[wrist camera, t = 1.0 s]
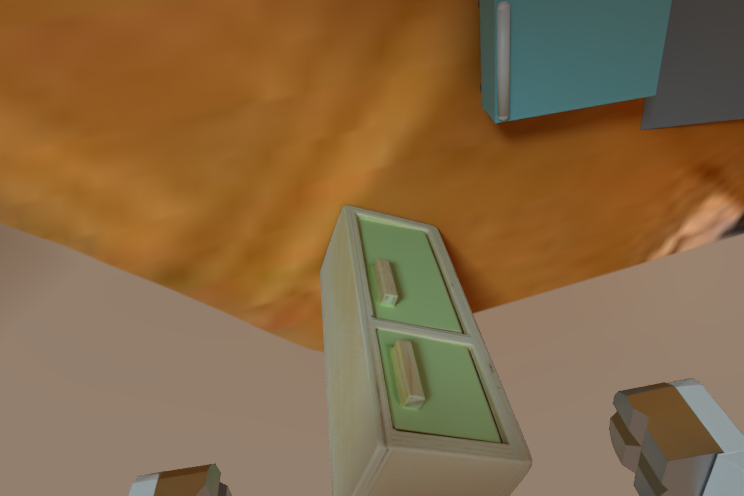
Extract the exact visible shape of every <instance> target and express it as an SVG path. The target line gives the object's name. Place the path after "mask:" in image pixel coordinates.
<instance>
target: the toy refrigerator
mask: <svg viewBox="0 0 744 496" xmlns="http://www.w3.org/2000/svg"><path fill="white" fill-rule="evenodd" d="M320 282H321V300H322V317H323V336H324V353H325V369H326V370H325V371H326V389H327V405H328V425H329V444H330V460H331V477H332V494H333V496H510V494H511V493H512V492H513V491H514V489H515V488H516V487H517V486H518V484H519V483H520V482H521V481H522V479H523V478H524V477H525V475H526V474H527V473H528V471H529V470H530V468H531V466H532V458H531V455H530V452H529V449H528V447H527V444H526V442H525V439H524V437H523V434H522V432H521V429H520V427H519V425H518V422H517V420H516V418H515V415H514V413H513V411H512V408H511V406H510V403H509V400H508V398H507V396H506V393H505V391H504V389H503V387H502V384H501V381H500V379H499V377H498V374H497V372H496V369H495V367H494V365H493V362H492V360H491V358H490V355H489V353H488V350H487V348H486V345H485V343H484V340H483V338H482V336H481V333H480V330H479V328H478V325H477V323H476V321H475V318H474V316H473V313H472V311H471V309H470V306H469V304H468V301H467V299H466V296H465V294H464V291H463V289H462V286H461V284H460V281H459V279H458V276H457V274H456V272H455V269H454V267H453V264H452V262H451V259H450V257H449V254H448V252H447V250H446V247H445V245H444V242H443V240H442V237H441V235H440V233H439V230H438V229H437V227H435V226H432V225H428V224H424V223H420V222H416V221H412V220H407V219H403V218H399V217H395V216H391V215H387V214H382V213H378V212H374V211H370V210H366V209H362V208H358V207H354V206H350V205H345V206H344V207H343V208H342V210H341V213H340V215H339V218H338V220H337V223H336V226H335V229H334V232H333V235H332V238H331V241H330V244H329V247H328V249H327V252H326V255H325V258H324V261H323V264H322V267H321V270H320Z"/></svg>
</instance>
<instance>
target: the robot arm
mask: <svg viewBox="0 0 744 496" xmlns="http://www.w3.org/2000/svg"><path fill="white" fill-rule="evenodd" d="M613 404H614V406H615V408H616V410H617V412H616V413H615V414H614V415H613V416H612V417H611V418H610V427H609V430H610V435H611V440H612V444H613V447H614V449H615V452H616V454H617V456H618V458H619V459H620V461H621V463H622V465H624V466H625V467H627V468H628V469H630V470H631V471H633V472H634V473H636V475H635V481H634V487H635V488H636V490H637V492H638V494H639V496H744V435H743V434H742V433H741V431H740V430H739V429H738V428H737V427H736V425H735V424H734V423H733V422H732V420H731V419H730V418H729V417H728V416H727V415H726V413H725V412H724V411H723V410H722V409H721V407H720V406H719V405H718V404H717V402H716V401H715V400H714V399H713V397H712V396H711V395H710V394H709V393H708V391H707V390H706V389H705V388H704V387H703V385H702V384H701V383H700V382H699V381H697V380H695V379H693V378H692V379H685V380H679V381H674V382H670V383H659V384H654V385H649V386H644V387H639V388H633V389H628V390H623V391H618V392H617V393H616V394H615V396H614V401H613ZM220 475H221V473H220V471H219V469H218V467H217V466H216V464H209V465H203V466H196V467H191V468H184V469H178V470H171V471H164V472H158V473H152V474H146V475H140V476H138V477H137V478H136V480H135V481H134V483H133V484H132V486H131V489H130V492H129V496H232V495H231V492H230V490H229V488H228V486H227V485H225V484H223V483H220Z"/></svg>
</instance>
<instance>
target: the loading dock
mask: <svg viewBox="0 0 744 496" xmlns="http://www.w3.org/2000/svg"><path fill="white" fill-rule="evenodd" d="M738 119H744V0H672V3H671V9H670V14H669V20H668V26H667V32H666V38H665V43H664V49H663V55H662V61H661V67H660V73H659V78H658V84H657V90H656V95H655V96H649V97H645V102H644V108H643V115H642V121H641V127H640V130H646V129H655V128H664V127H673V126H682V125H692V124H701V123H710V122H719V121H728V120H738Z"/></svg>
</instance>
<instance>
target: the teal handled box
mask: <svg viewBox="0 0 744 496" xmlns="http://www.w3.org/2000/svg"><path fill="white" fill-rule="evenodd" d="M671 3H672V0H478V5H479V8H480V42H481V85H480V90H481V93H482V107H483V109H484V110H485V111H486V112H487V114H488V115H489V116H490V117H491V119H492V120H493V121H494V122H495V123H501V122H506V121H512V120H518V119H523V118H529V117H535V116H541V115H546V114H552V113H558V112H563V111H569V110H575V109H581V108H586V107H592V106H598V105H603V104H609V103H615V102H621V101H626V100H632V99H638V98H644V97H649V96H655V95H656V90H657V84H658V78H659V73H660V67H661V61H662V55H663V49H664V43H665V38H666V32H667V26H668V20H669V14H670V9H671Z"/></svg>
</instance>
